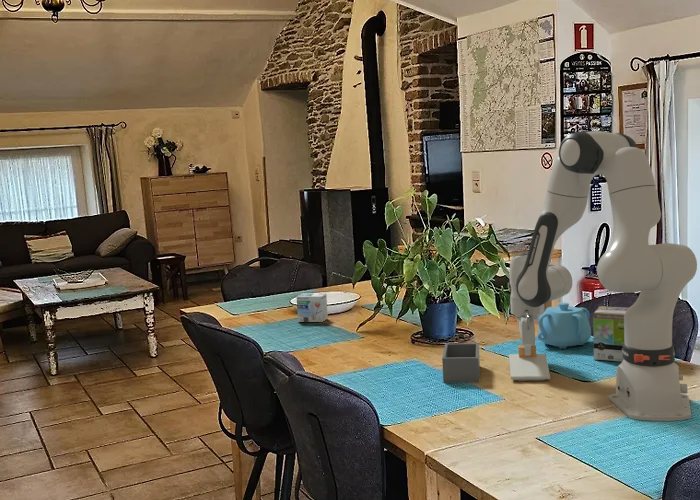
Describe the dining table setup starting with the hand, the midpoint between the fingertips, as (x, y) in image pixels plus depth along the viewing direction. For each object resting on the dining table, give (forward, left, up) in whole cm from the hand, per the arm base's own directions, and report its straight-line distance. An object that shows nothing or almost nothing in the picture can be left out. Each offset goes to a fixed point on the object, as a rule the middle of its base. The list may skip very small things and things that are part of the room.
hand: (527, 353), depth 226 cm
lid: (-7, 0, -3) cm, 7 cm away
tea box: (+8, -28, -4) cm, 29 cm away
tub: (-7, +19, -4) cm, 21 cm away
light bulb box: (+66, +80, -4) cm, 104 cm away
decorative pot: (+25, -13, -4) cm, 29 cm away
